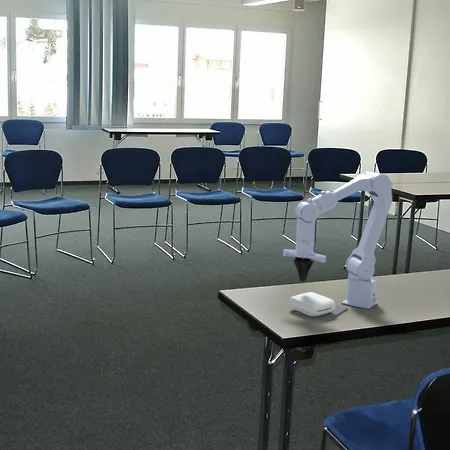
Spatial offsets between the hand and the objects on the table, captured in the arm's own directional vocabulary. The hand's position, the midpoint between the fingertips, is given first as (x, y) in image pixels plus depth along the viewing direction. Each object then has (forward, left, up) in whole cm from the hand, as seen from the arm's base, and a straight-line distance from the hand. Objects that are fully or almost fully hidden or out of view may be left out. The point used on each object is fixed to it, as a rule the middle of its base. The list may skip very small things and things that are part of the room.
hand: (302, 280), depth 219 cm
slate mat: (-7, 0, -9) cm, 11 cm away
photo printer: (0, +1, -6) cm, 6 cm away
